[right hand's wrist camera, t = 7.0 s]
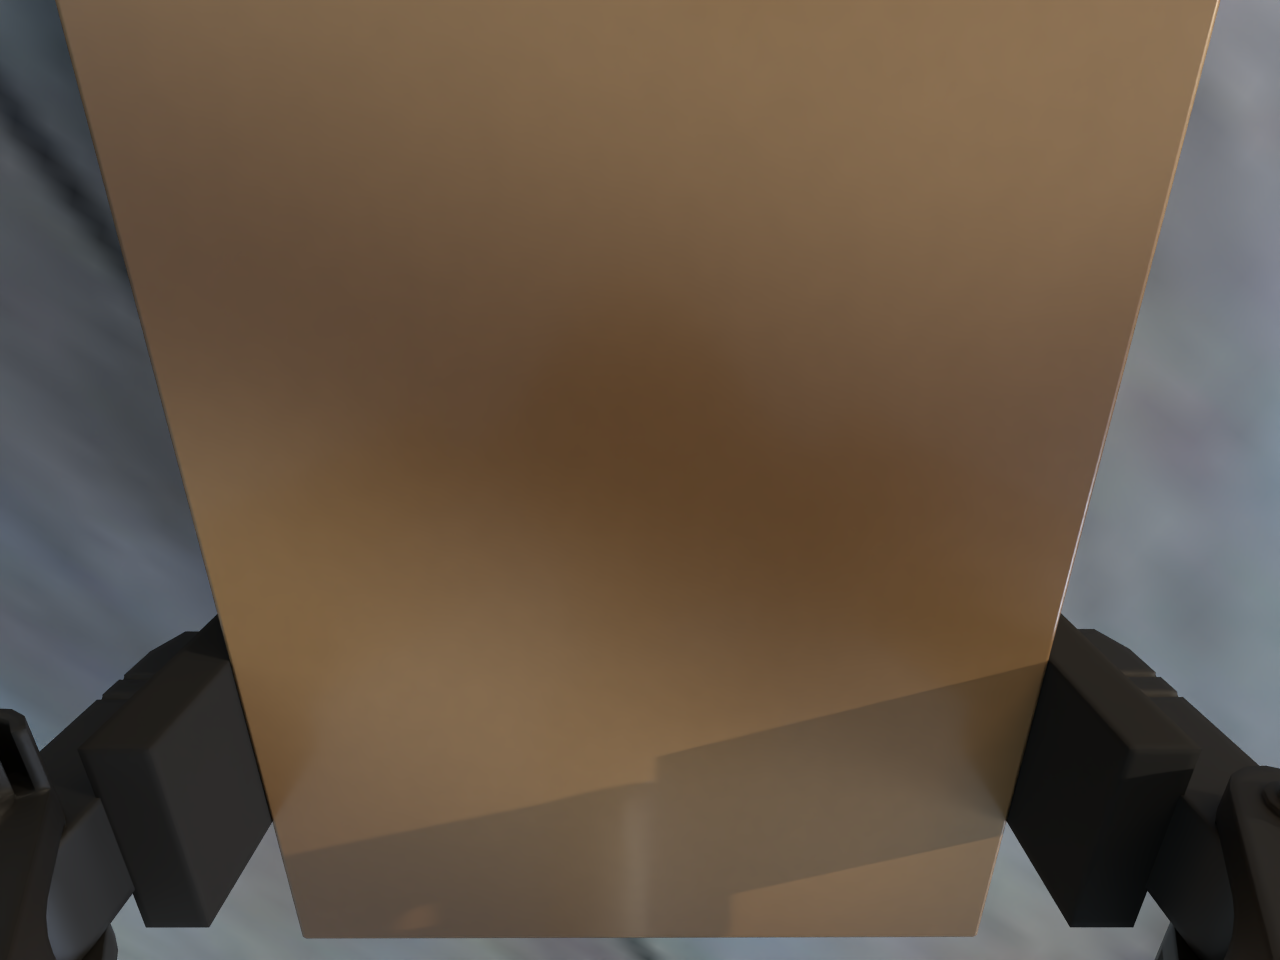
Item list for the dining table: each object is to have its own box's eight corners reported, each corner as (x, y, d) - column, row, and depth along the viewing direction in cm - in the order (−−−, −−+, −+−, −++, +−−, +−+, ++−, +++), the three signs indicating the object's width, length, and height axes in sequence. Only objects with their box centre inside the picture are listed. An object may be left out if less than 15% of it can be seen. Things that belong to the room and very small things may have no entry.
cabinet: (342, -245, 12) (-260, -1173, 4) (933, -246, 12) (1531, -1171, 4) (447, 623, 18) (301, 941, 10) (830, 623, 18) (978, 938, 10)
